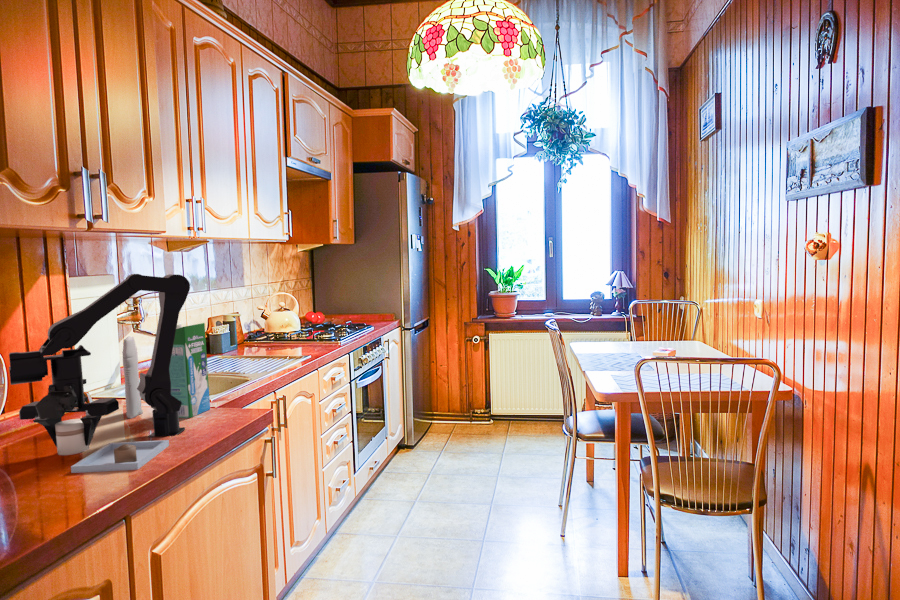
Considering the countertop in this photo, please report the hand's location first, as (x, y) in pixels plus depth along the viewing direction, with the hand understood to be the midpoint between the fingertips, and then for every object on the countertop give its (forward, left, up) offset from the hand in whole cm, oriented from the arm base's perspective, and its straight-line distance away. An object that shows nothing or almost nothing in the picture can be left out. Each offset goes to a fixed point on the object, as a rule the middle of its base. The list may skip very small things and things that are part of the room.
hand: (73, 445), depth 131 cm
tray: (+7, +15, -2) cm, 16 cm away
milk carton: (-31, +13, -2) cm, 34 cm away
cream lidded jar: (0, 0, -2) cm, 2 cm away
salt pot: (+11, +17, -1) cm, 21 cm away
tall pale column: (-33, -2, -2) cm, 33 cm away
